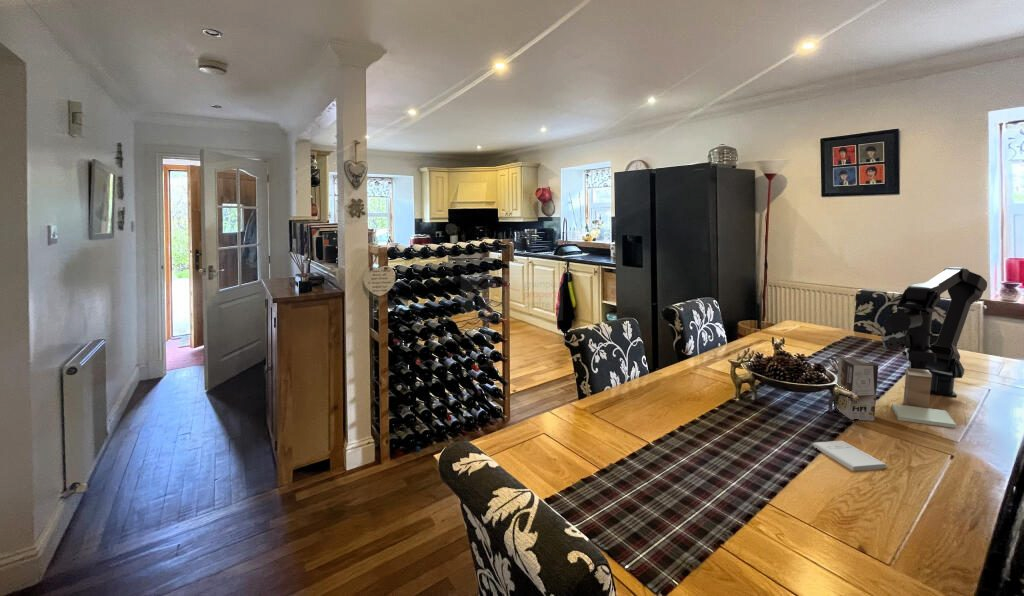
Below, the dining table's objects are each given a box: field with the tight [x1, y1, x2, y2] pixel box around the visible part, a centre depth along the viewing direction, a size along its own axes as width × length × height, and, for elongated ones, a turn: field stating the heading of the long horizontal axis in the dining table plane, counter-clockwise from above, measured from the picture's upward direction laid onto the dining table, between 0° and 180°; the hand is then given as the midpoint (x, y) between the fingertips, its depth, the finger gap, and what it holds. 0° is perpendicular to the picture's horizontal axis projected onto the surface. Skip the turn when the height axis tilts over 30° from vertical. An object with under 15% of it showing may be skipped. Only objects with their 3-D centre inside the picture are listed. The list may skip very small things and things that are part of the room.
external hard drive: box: [812, 440, 887, 472], centre depth 111 cm, size 2×8×12 cm
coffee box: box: [836, 356, 880, 422], centre depth 135 cm, size 9×6×16 cm
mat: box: [891, 403, 957, 429], centre depth 132 cm, size 11×12×1 cm
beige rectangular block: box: [902, 367, 932, 409], centre depth 139 cm, size 5×5×11 cm
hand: (914, 377), depth 143 cm, fingers closed
